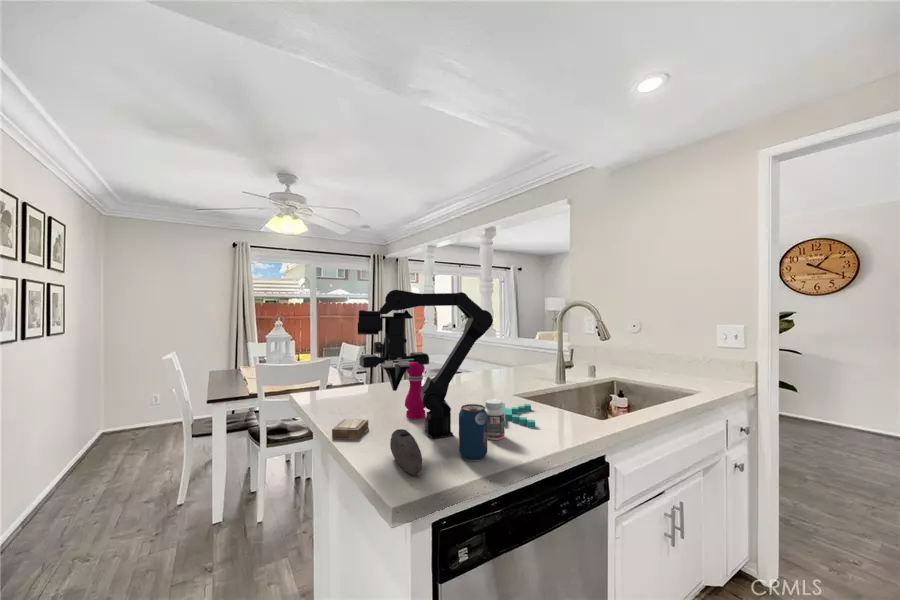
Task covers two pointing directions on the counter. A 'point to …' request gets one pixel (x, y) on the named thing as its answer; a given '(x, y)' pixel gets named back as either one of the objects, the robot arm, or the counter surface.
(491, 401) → the pill bottle
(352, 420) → the walnut block
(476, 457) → the soda can
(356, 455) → the counter surface
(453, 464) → the counter surface
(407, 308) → the robot arm
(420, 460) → the perforated stone tool
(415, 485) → the counter surface
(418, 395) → the pepper mill
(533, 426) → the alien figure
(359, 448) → the counter surface
